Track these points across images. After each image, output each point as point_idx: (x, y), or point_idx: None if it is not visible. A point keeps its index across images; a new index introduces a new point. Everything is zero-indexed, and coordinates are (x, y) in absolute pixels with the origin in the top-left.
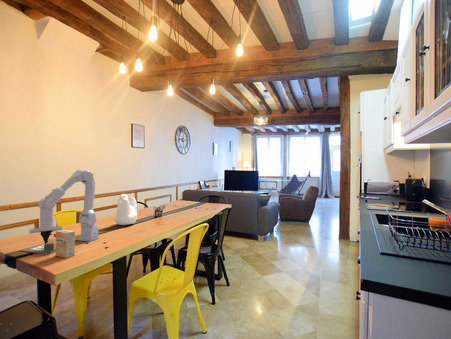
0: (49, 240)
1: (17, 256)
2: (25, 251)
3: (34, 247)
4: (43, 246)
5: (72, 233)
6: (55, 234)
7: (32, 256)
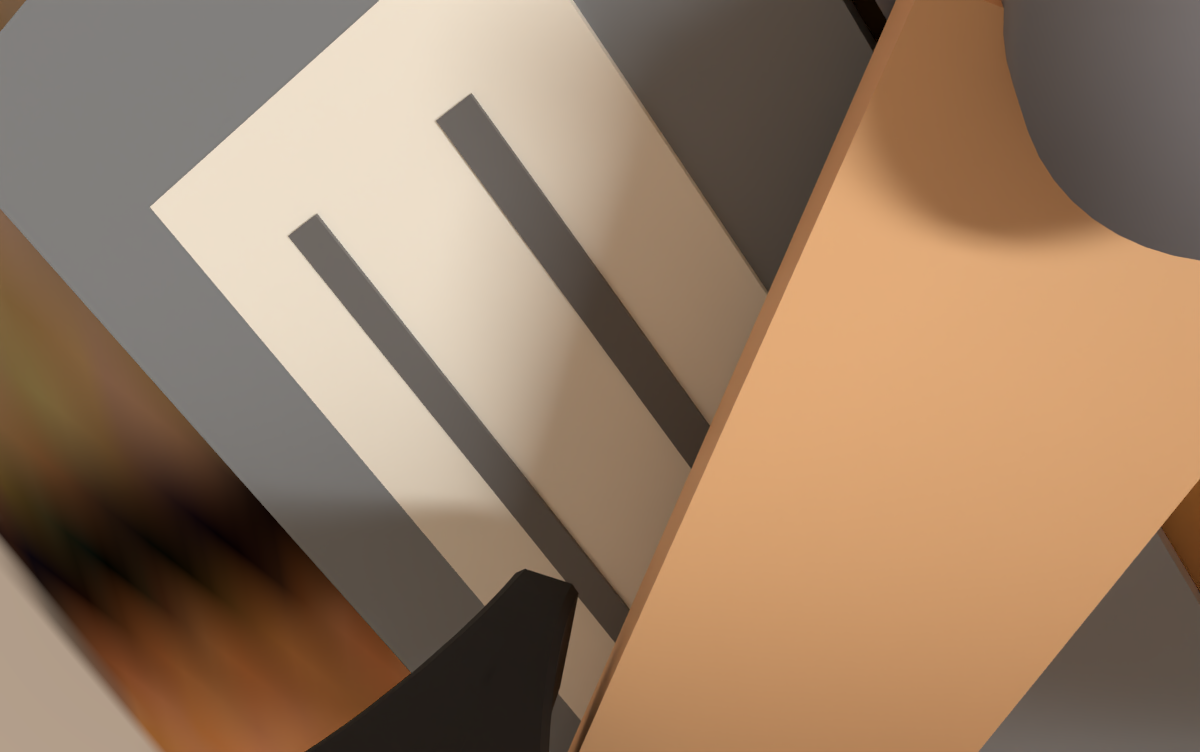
0: (615, 727)
1: (23, 513)
2: (75, 260)
3: (235, 58)
4: (520, 203)
5: None
6: (1158, 142)
7: (316, 738)
